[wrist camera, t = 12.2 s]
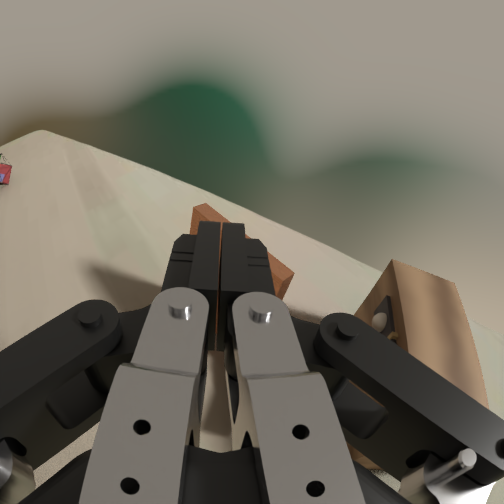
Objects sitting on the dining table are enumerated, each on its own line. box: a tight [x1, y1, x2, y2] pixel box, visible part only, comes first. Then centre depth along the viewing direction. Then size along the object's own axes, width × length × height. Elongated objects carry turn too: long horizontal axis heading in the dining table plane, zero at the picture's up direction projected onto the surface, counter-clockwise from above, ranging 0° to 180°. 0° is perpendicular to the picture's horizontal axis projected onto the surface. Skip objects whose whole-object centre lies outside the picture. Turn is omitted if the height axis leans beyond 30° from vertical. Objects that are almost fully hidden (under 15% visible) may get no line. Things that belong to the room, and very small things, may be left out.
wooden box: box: [346, 259, 489, 470], centre depth 28 cm, size 12×20×12 cm, turn 167°
